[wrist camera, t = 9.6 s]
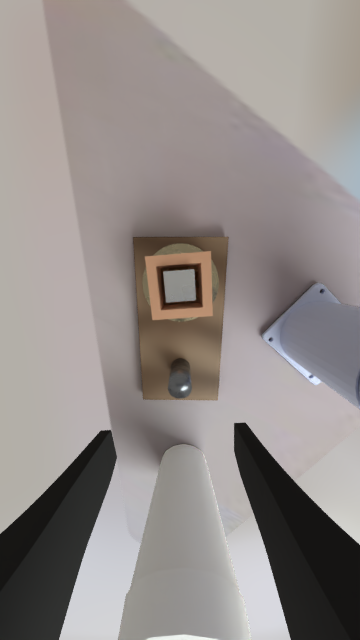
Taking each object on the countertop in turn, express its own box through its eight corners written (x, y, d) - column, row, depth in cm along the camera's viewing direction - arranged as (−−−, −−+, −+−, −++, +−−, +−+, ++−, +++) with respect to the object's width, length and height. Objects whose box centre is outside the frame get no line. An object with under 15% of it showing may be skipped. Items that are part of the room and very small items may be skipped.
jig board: (216, 394, 21) (217, 400, 20) (145, 393, 21) (143, 399, 20) (225, 239, 16) (228, 236, 16) (136, 239, 17) (133, 237, 16)
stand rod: (194, 366, 19) (196, 387, 15) (181, 379, 19) (181, 402, 16) (179, 354, 18) (178, 373, 15) (166, 367, 19) (163, 389, 15)
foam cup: (197, 493, 25) (213, 710, 12) (141, 473, 24) (96, 682, 12) (228, 449, 23) (284, 657, 10) (167, 425, 22) (147, 619, 10)
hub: (217, 240, 16) (228, 228, 12) (219, 318, 17) (228, 329, 14) (138, 247, 16) (124, 237, 12) (147, 323, 18) (138, 335, 14)
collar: (205, 256, 16) (210, 250, 13) (207, 309, 17) (212, 316, 14) (151, 260, 16) (144, 256, 13) (157, 313, 17) (152, 320, 14)
